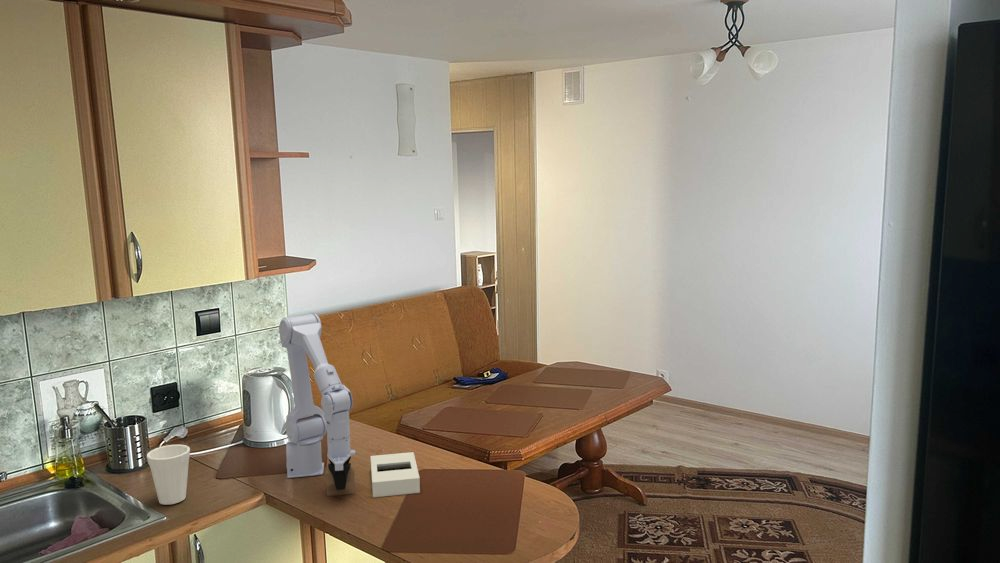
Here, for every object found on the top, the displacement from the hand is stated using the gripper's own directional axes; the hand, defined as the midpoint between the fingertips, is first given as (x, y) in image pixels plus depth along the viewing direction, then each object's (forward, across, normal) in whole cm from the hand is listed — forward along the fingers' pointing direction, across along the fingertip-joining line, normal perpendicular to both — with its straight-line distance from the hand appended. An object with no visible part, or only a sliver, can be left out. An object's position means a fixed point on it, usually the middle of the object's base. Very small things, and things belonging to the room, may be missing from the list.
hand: (340, 486), depth 182 cm
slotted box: (+2, +4, -14) cm, 15 cm away
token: (+2, 0, 0) cm, 2 cm away
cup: (+2, +5, +42) cm, 42 cm away
